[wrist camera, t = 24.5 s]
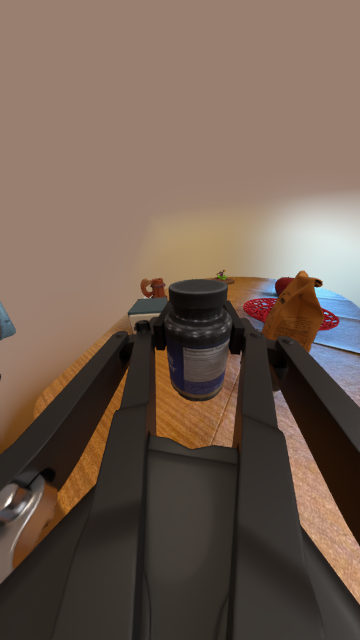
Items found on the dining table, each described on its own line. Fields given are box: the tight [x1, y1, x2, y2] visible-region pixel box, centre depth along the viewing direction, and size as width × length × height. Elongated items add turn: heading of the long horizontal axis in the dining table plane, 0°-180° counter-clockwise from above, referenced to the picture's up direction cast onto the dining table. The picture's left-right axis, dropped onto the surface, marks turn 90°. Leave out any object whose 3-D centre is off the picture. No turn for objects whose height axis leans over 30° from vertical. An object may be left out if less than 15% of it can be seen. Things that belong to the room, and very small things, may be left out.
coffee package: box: [261, 271, 324, 353], centre depth 33 cm, size 10×12×22 cm
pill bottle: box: [164, 279, 232, 401], centre depth 13 cm, size 6×6×11 cm
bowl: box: [243, 298, 339, 331], centre depth 53 cm, size 29×29×5 cm
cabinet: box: [128, 298, 168, 332], centre depth 55 cm, size 15×13×10 cm
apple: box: [275, 277, 294, 296], centre depth 79 cm, size 11×11×12 cm
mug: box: [141, 278, 167, 298], centre depth 79 cm, size 15×8×15 cm, turn 105°
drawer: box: [129, 313, 160, 334], centre depth 51 cm, size 18×12×8 cm, turn 1°
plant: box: [211, 270, 234, 284], centre depth 121 cm, size 20×20×11 cm
